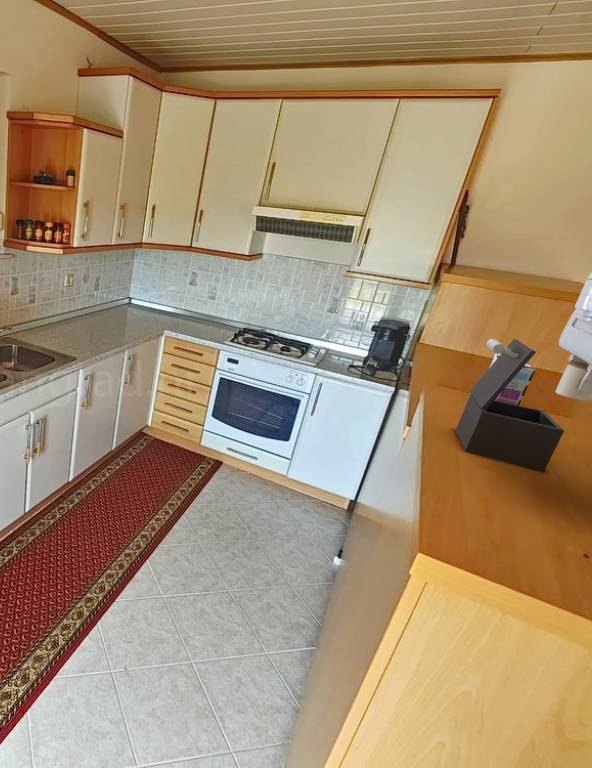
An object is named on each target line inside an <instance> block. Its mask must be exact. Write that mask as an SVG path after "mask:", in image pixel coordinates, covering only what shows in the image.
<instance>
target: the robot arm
mask: <svg viewBox="0 0 592 768" xmlns="http://www.w3.org/2000/svg"><path fill="white" fill-rule="evenodd" d="M574 308H575V309H574V311H573V312H572V314H571V315H570V317H569V318H568V321H567V323H566V325H565V327H564V329H563V331H562V333H561V335H560V336H559V339H558V340H559V341H558V347H560V348H561V349H563V350H565V351H566V352H568V353H570V355H569V357H568V362H569V361H573V362H581V363H587V364H589V366H588V368H587V370H588V372H587V373H586V375H585V376H584V378H583V379H580V380H579V383H578V385H577V389H579V390H580V391H581V392H585V393H592V271H591V272H590V273H589V274H588V276H587V279H586V281H585V283H584V284H583V287H582V288H581V291H580V294H579V295H578V299H577V300H576V302H575V306H574ZM568 362H567V363H568Z"/></svg>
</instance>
